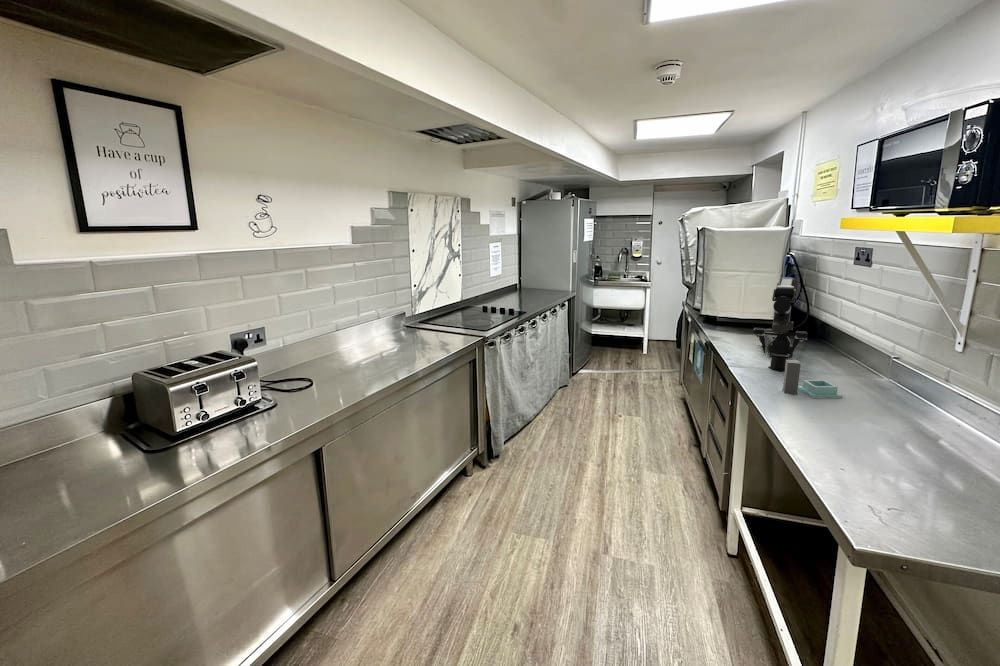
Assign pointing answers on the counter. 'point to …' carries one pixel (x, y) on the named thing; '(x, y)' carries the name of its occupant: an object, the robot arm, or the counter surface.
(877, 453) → the counter surface
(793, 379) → the plug
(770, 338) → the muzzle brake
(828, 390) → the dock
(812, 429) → the counter surface
